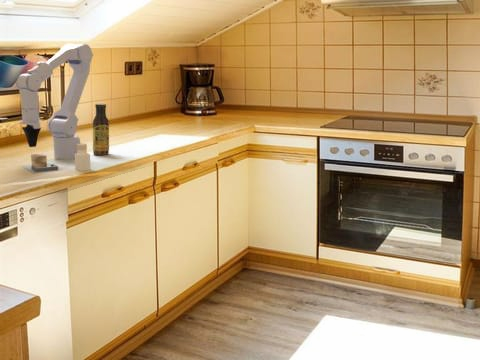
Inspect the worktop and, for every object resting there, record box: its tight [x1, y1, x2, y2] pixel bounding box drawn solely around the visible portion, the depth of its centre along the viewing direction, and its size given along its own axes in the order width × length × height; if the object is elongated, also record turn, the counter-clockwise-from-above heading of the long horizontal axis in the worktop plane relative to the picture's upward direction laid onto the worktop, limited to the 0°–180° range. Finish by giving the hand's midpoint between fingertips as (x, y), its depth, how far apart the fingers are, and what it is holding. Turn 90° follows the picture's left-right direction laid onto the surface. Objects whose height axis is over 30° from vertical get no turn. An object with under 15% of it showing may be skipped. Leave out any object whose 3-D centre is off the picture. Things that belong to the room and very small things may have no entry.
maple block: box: [30, 153, 48, 168], centre depth 218 cm, size 4×4×4 cm
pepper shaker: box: [74, 143, 92, 172], centre depth 213 cm, size 4×4×10 cm
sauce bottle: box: [92, 103, 110, 156], centre depth 245 cm, size 7×6×20 cm
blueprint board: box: [21, 162, 63, 174], centre depth 216 cm, size 10×15×2 cm, turn 34°
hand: (32, 146), depth 223 cm, fingers closed
